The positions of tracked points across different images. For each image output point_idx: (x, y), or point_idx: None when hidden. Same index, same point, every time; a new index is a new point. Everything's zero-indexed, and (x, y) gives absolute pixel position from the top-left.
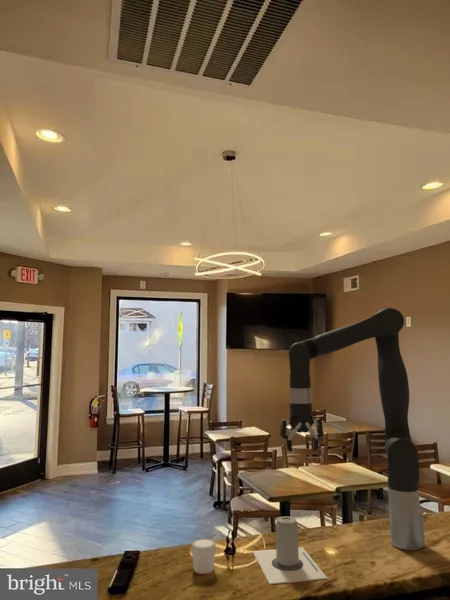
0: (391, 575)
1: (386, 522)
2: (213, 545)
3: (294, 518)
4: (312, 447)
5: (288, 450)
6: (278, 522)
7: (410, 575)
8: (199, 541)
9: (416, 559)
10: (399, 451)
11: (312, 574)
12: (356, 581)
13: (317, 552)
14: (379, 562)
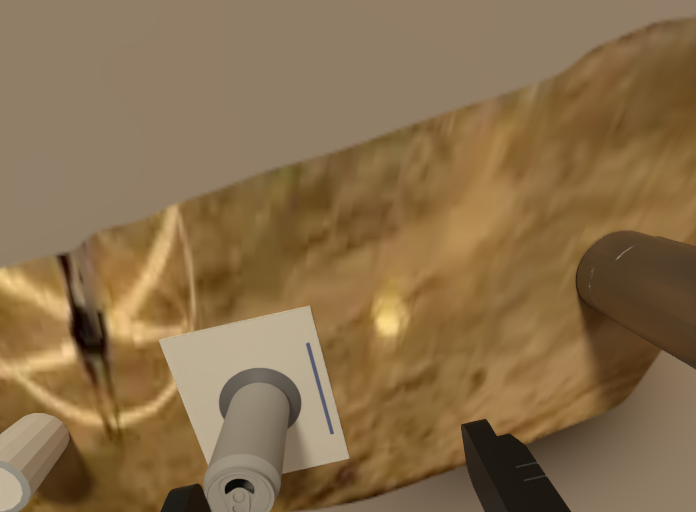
0: (496, 432)
1: (653, 77)
2: (27, 499)
3: (269, 485)
4: (468, 441)
5: (176, 495)
6: (211, 508)
7: (537, 429)
8: None
9: (593, 355)
10: None
11: (318, 447)
12: (411, 460)
13: (349, 330)
14: (495, 376)
